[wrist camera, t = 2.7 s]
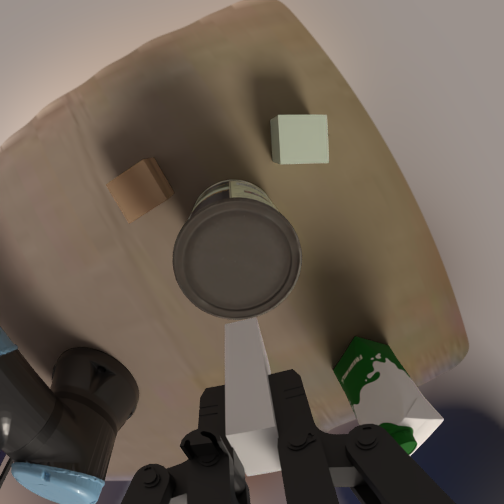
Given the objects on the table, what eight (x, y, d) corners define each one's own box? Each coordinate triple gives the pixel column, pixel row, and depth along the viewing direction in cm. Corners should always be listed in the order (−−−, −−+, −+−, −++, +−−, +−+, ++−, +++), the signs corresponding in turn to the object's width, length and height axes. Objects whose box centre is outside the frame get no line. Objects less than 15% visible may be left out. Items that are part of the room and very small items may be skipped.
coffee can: (194, 264, 40) (180, 323, 27) (188, 181, 37) (166, 202, 23) (276, 260, 40) (300, 316, 27) (276, 177, 37) (303, 196, 24)
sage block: (272, 161, 37) (280, 164, 31) (270, 119, 35) (277, 114, 29) (313, 160, 37) (329, 163, 31) (311, 119, 35) (326, 114, 30)
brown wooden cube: (140, 214, 37) (129, 223, 33) (120, 179, 36) (105, 184, 31) (174, 192, 37) (167, 199, 32) (153, 157, 35) (143, 159, 31)
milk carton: (353, 329, 45) (412, 426, 26) (396, 342, 47) (458, 426, 28) (325, 373, 47) (365, 474, 28) (368, 382, 49) (415, 470, 30)
